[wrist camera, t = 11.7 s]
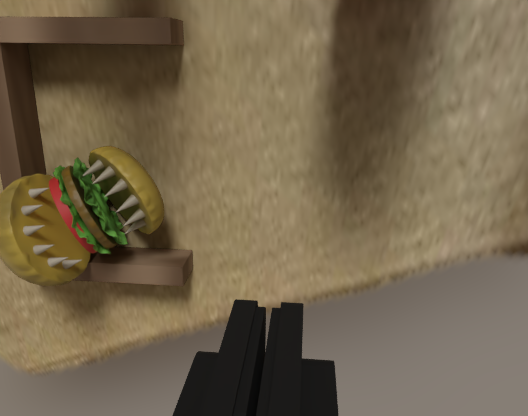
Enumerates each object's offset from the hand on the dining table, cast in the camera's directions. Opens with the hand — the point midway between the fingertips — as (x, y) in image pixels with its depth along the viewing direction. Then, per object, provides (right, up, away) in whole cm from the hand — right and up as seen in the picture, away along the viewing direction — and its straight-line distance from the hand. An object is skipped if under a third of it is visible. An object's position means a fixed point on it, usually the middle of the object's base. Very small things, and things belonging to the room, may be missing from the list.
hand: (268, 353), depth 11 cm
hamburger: (-8, +6, +21) cm, 23 cm away
